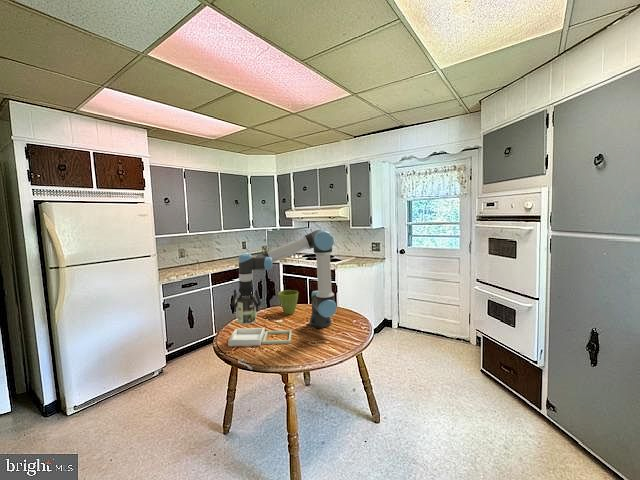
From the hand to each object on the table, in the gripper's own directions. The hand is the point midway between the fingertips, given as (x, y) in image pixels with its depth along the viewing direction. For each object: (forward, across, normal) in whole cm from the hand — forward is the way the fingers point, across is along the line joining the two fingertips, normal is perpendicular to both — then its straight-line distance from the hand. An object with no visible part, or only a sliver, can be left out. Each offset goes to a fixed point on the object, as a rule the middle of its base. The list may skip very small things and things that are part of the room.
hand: (246, 317), depth 178 cm
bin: (+14, 0, 0) cm, 14 cm away
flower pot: (+14, -22, -48) cm, 55 cm away
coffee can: (+3, 0, 0) cm, 3 cm away
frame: (+14, -18, -1) cm, 23 cm away
